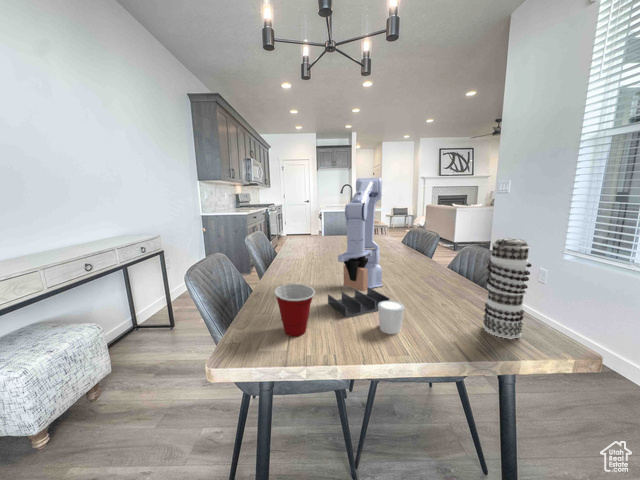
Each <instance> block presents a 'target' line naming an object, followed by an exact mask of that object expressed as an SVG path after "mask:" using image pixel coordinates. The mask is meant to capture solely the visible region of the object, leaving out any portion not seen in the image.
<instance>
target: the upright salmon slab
mask: <svg viewBox="0 0 640 480" xmlns="http://www.w3.org/2000/svg"><path fill="white" fill-rule="evenodd" d="M343 286H346V287H349V288H352V289H354V290H358V291H360V292H367V290H368V269H365V268H361V267H358V268H357V277H356V281H352V280H350V277H349V273H348V270H347V268H346V266H345V264H344V265H343Z"/></svg>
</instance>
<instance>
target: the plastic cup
mask: <svg viewBox="0 0 640 480" xmlns="http://www.w3.org/2000/svg"><path fill="white" fill-rule="evenodd" d="M315 294H316V292H315V289H314V288H313V287H311V286H309V285H306V284H301V283H288V284H283V285H279V286H278V287H276V288H275V289H274V295H275V296H276V301H277V304H278V308H279V314H280V318H281V319H280V320H281V322H282V326H283V331H284V334H285V335H287V336H289V337H293V338H294V337H295V338H296V337H301V336H302V335H304V334H305V333H306V331H307V327H308V326H307V325H308V321H309V315H310V310H311V309H310V308H311V304H312V300H313V297H314V296H315Z"/></svg>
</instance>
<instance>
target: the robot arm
mask: <svg viewBox="0 0 640 480" xmlns="http://www.w3.org/2000/svg"><path fill="white" fill-rule="evenodd" d="M355 190H356V192H355V193H354V194H353V196H352V199H351V201H350V202H348V204H347V203H346V205H345V208H344V218H345V226H346V251H345V252H344V253H342V254H338V255H337V262H338V263H339V262H340V263H343V264H344V265H345V266H346V268H347V270H348V273H349V277H350V280H352V281H356V277H357V268H358V267H361V268H365V269H368V287H369V288H371V289H374V288H379V287H383V284H382V283H383V281H382V279H383V268H382V266H381V265H380V264H379V263H380V259H381V254H380V253H381V252H380V249H381V248H380V245H379V244H378V243H376V242H375V241H374V236H375V235H374V234H375V233H374V231H375V218H376V217H375V215H376V206H377V203H378V201H380V200H381V199H382V196H383V195H382V193H383V179H382V178H381V176H379V177H357V179H356V181H355Z"/></svg>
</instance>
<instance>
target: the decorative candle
mask: <svg viewBox="0 0 640 480" xmlns="http://www.w3.org/2000/svg"><path fill="white" fill-rule="evenodd" d="M491 245H492V250H491V255H490V258H489V259H487V261H486V263H487V266H486V269H487V271H488V272H487V273H486V277H487V278H486V283H487V285H486V288H487V291H488V294H487V297H486V302H485V303H484V306H485V308H484V310H483V311H484V315H483V318H484V319H483V321H482V322H483V326H482V329H483V328H484V329H485V330H484V329H483V330H484V331H485V332H486V331H487V332H486V333H488V334H489V333H490V335H491V334H492V336H494V335H495V336H494V337H496V336H498V337H497V338H500V337H503V338H502V339H504V338H519V337H520V338H522V333H523V332H522V331H523V329H522V328H523V325H524V323H523V320H524V316H523V315H524V313H525V310H524V301H523V300H524V295H527V289H528V284H526V283H525V282H528V281H530V277H528V276H530V275H531V272H530V271H529V270H528V269H527V268H531V267H532V264H531V263H530V262H529V250H530V249H532V247H531V246H530V245H528V244H527V242H526V240H524V239H520V238H511V237H501V238H498V239H496V240H495V242H493V243H491ZM520 338H519V339H520Z"/></svg>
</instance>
